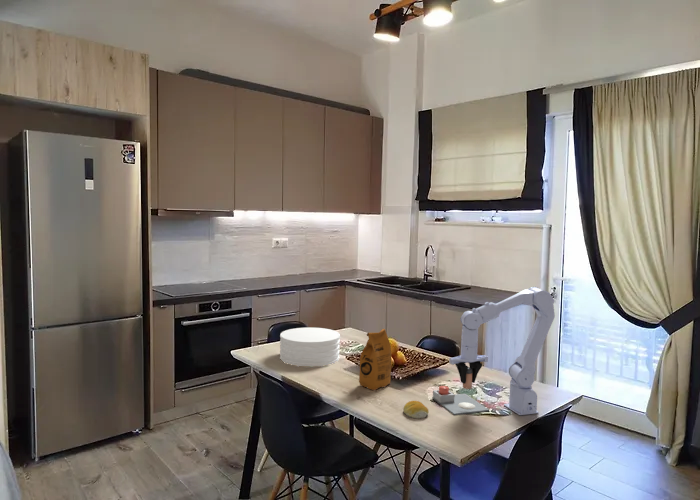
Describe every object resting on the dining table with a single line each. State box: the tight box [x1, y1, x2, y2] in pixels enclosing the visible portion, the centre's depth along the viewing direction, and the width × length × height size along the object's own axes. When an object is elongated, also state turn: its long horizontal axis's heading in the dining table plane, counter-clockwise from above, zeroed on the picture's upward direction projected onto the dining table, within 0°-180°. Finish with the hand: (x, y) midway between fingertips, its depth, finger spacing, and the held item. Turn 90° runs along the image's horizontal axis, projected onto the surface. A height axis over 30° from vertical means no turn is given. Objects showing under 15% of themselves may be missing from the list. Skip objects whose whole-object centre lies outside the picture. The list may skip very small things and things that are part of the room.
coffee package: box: [358, 328, 392, 391], centre depth 197 cm, size 10×12×22 cm
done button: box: [438, 385, 450, 395], centre depth 182 cm, size 4×4×3 cm
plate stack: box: [279, 327, 341, 367], centre depth 232 cm, size 28×28×12 cm
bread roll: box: [402, 400, 429, 419], centre depth 170 cm, size 8×9×4 cm
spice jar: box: [462, 366, 473, 390], centre depth 176 cm, size 3×3×7 cm
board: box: [431, 389, 490, 416], centre depth 179 cm, size 16×14×3 cm
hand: (467, 382), depth 176 cm, fingers closed on spice jar, 3 cm apart
